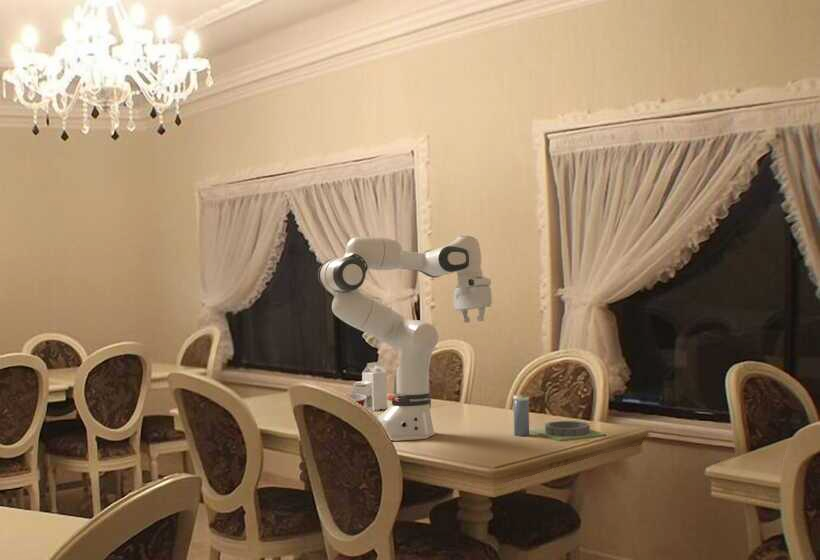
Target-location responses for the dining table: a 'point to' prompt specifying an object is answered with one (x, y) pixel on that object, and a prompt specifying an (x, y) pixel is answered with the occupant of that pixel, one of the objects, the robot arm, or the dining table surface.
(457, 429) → the dining table surface
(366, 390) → the syrup box
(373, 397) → the milk carton
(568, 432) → the practice green
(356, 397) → the plastic cup
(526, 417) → the ball tube
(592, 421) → the dining table surface
